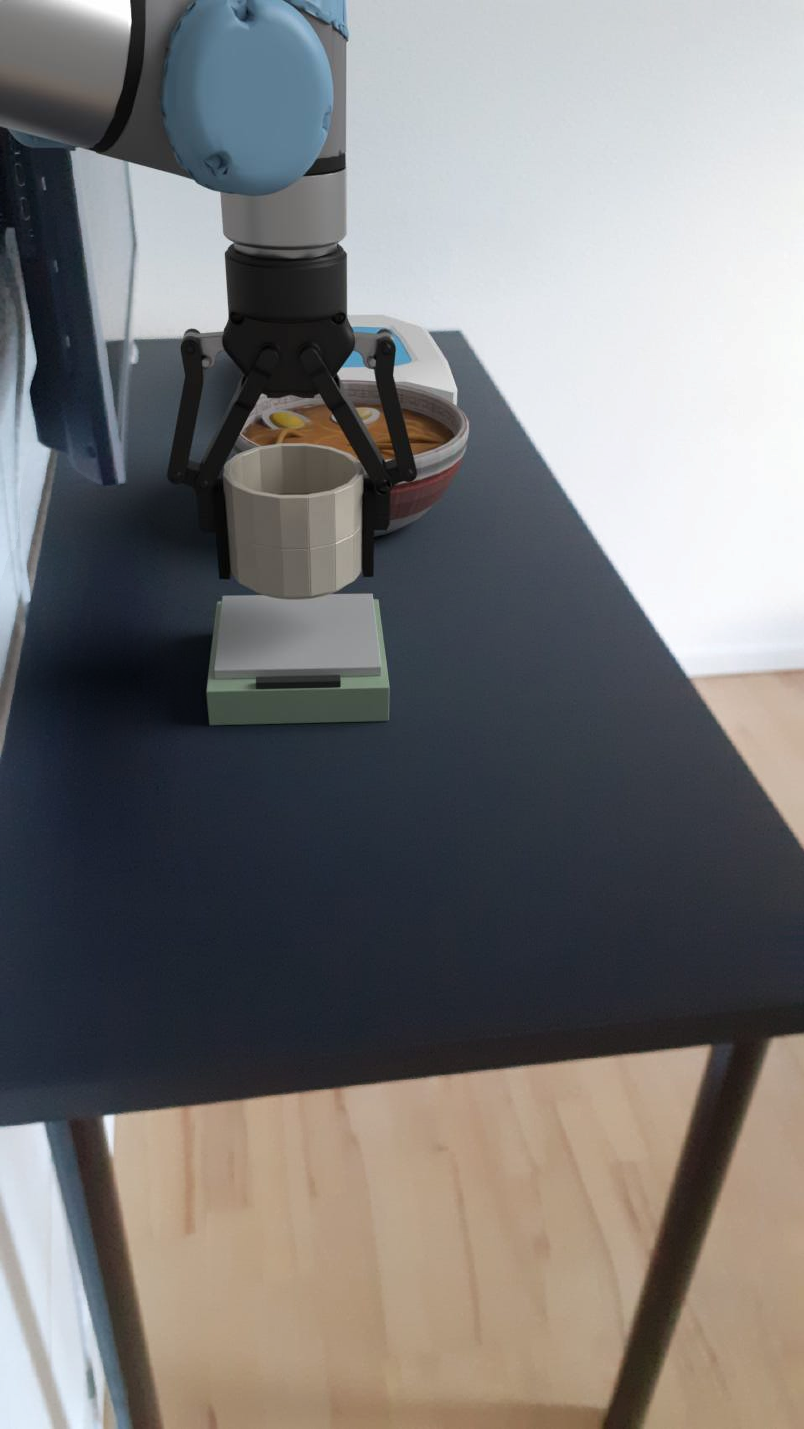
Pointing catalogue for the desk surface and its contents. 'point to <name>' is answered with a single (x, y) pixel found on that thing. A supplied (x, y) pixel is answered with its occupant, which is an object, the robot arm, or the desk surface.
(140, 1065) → the desk surface
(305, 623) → the scale
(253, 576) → the faceted beige cup
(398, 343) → the document scanner
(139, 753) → the desk surface
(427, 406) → the bowl
